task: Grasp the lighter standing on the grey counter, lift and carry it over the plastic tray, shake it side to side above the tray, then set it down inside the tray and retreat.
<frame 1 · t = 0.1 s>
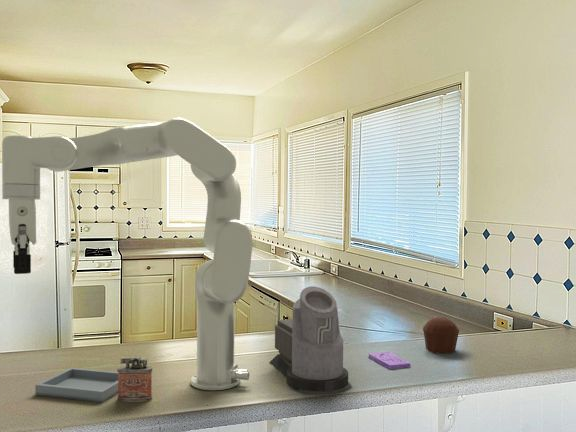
hand: (21, 270, 124), 31 cm above the table, tool pointing down, fingers open, 9 cm apart
juicer: (308, 377, 152), on the table
muffin: (440, 350, 179), on the table
lighter: (134, 400, 133), on the table
tray: (86, 388, 139), on the table
sponges: (388, 364, 165), on the table
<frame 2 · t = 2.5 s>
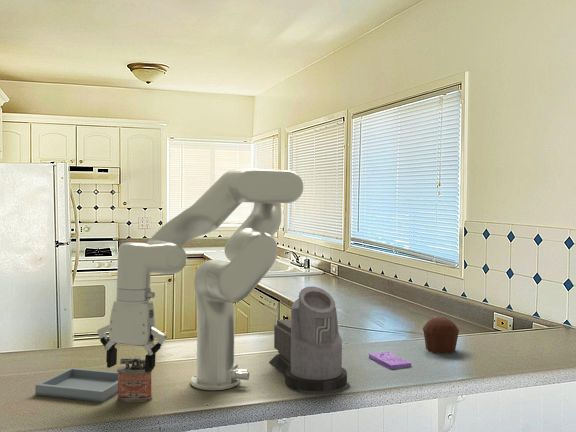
hand: (130, 368, 132), 7 cm above the table, tool pointing down, fingers open, 9 cm apart
lighter: (134, 400, 133), on the table, touching gripper
everything else where it was.
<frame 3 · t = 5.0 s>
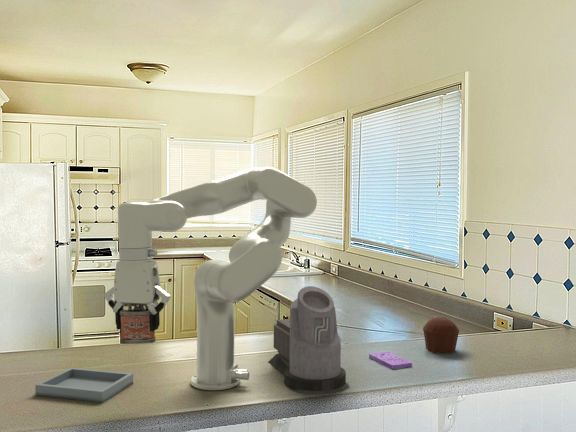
hand: (137, 328, 133), 17 cm above the table, tool pointing down, fingers closed on lighter, 8 cm apart
lighter: (138, 342, 133), point 13 cm above the table, touching gripper
everything else where it was.
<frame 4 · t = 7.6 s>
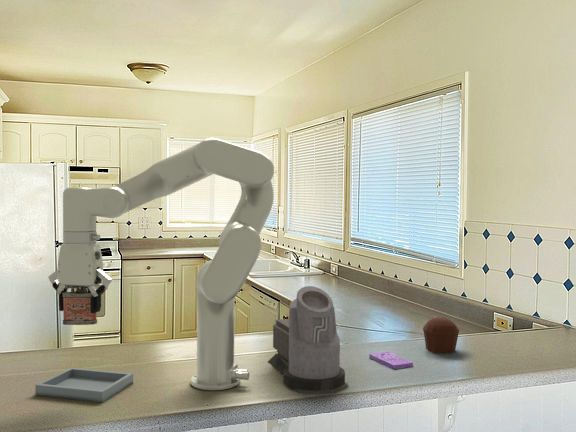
hand: (79, 310, 136), 20 cm above the table, tool pointing down, fingers closed on lighter, 8 cm apart
lighter: (80, 324, 137), point 17 cm above the table, touching gripper
everything else where it was.
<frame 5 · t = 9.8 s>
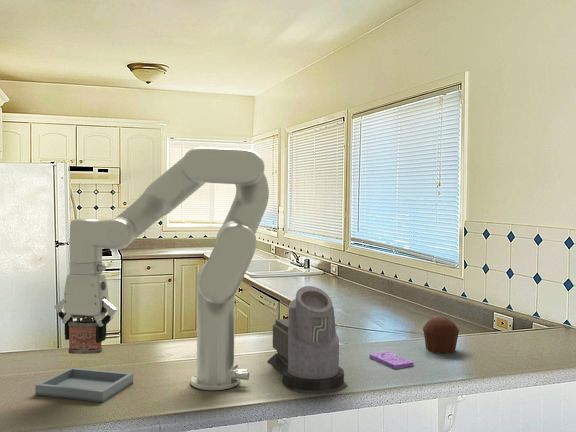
hand: (85, 339, 139), 12 cm above the table, tool pointing down, fingers closed on lighter, 8 cm apart
lighter: (85, 352, 139), point 9 cm above the table, touching gripper
when the fingers open (5 cm above the table, at t = 11.7 s): lighter drops 2 cm, resting on tray.
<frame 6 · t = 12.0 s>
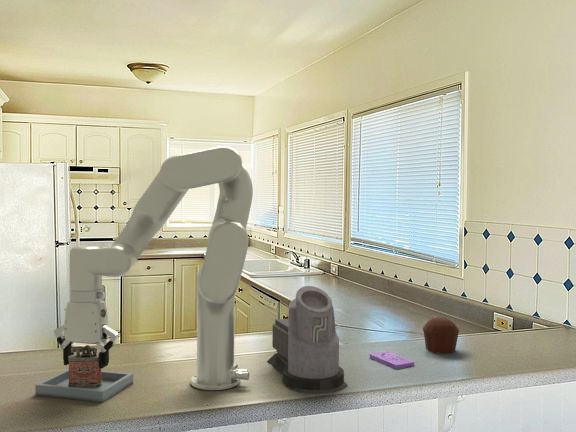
hand: (85, 365, 139), 6 cm above the table, tool pointing down, fingers open, 9 cm apart
lighter: (85, 386, 140), resting on tray
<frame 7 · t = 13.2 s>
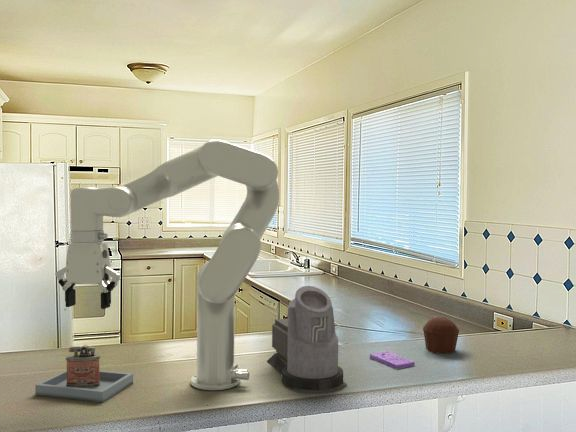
hand: (88, 307, 139), 20 cm above the table, tool pointing down, fingers open, 9 cm apart
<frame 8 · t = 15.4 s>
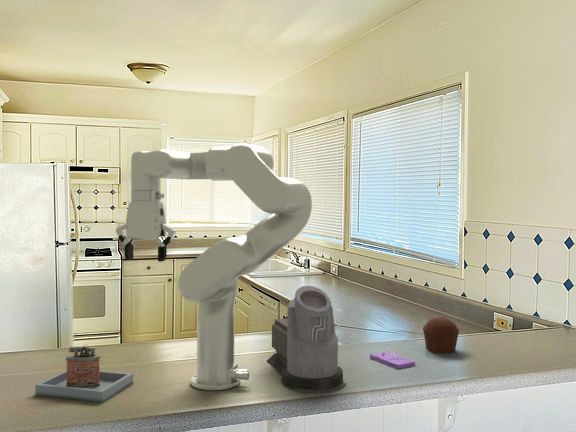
hand: (145, 260, 153), 30 cm above the table, tool pointing down, fingers open, 9 cm apart
at the end: lighter inside the target area on the tray (0.9 cm from its centre), point 0.4 cm above the tray's base; the gripper is holding nothing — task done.
